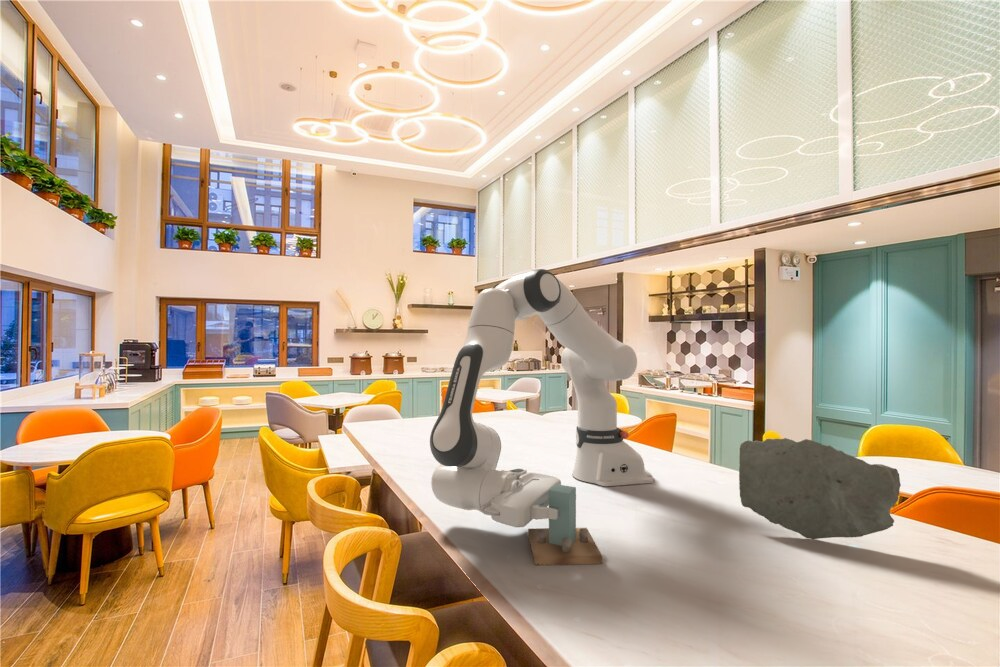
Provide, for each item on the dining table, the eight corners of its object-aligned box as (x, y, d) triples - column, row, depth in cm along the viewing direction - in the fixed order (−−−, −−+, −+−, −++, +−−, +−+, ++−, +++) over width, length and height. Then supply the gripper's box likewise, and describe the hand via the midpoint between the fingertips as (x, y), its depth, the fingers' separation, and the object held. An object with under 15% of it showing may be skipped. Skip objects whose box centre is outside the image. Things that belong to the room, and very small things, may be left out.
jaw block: (548, 542, 89) (548, 490, 89) (556, 534, 92) (556, 484, 92) (569, 547, 87) (568, 493, 87) (575, 539, 90) (575, 487, 90)
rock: (895, 547, 90) (895, 443, 90) (904, 561, 84) (904, 451, 84) (739, 521, 103) (739, 430, 103) (738, 531, 97) (738, 435, 97)
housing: (586, 534, 96) (586, 517, 96) (601, 563, 84) (601, 544, 84) (528, 535, 95) (528, 518, 95) (535, 565, 83) (535, 545, 83)
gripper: (476, 493, 86) (546, 506, 80) (523, 466, 104) (583, 474, 98) (476, 528, 86) (546, 543, 80) (523, 494, 104) (583, 504, 98)
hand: (567, 505), depth 89 cm, fingers open, 8 cm apart
